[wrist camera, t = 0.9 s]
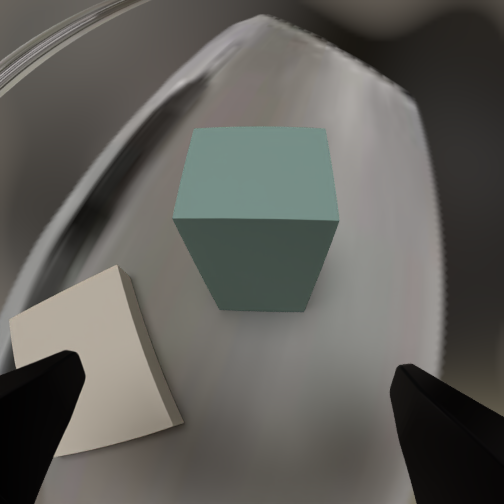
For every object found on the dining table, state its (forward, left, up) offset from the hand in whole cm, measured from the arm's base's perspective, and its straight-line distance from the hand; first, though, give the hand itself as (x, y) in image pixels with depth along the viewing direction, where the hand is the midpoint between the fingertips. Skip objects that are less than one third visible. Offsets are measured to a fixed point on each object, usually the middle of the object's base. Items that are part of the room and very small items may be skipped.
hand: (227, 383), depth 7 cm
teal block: (+8, -3, -13) cm, 15 cm away
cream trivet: (+4, +12, -13) cm, 18 cm away
